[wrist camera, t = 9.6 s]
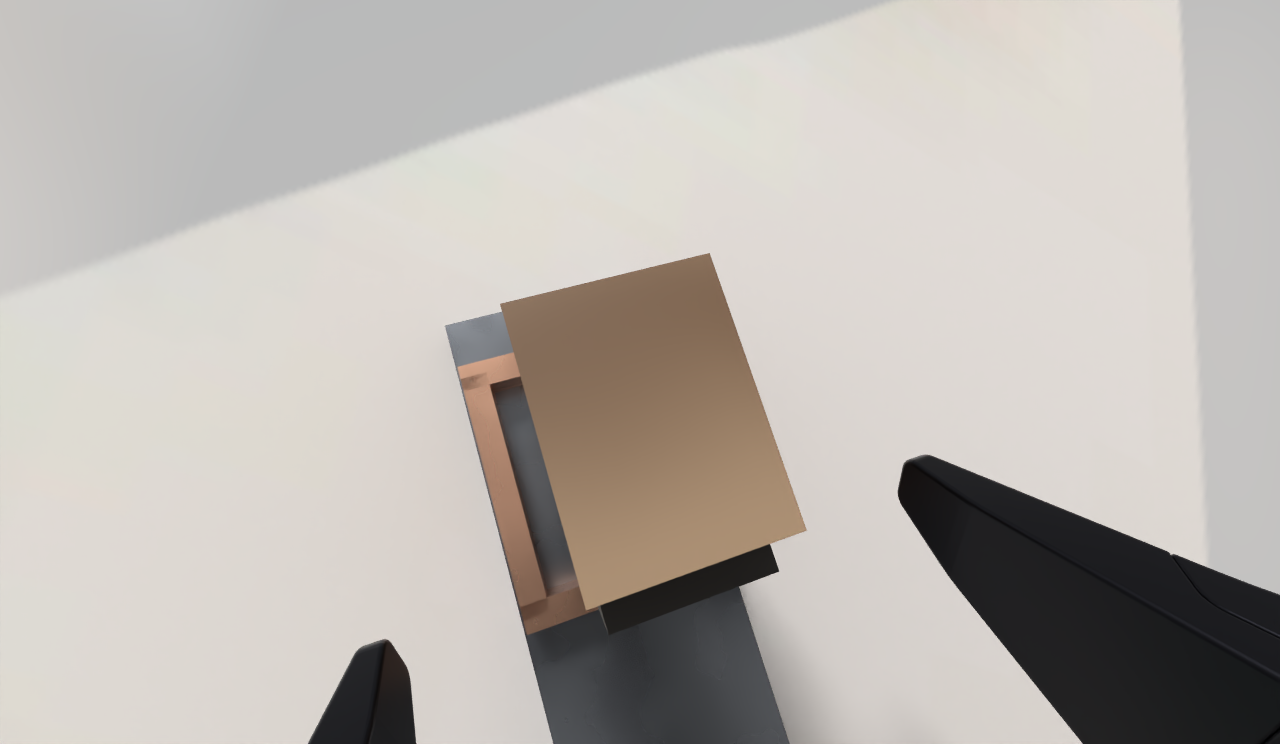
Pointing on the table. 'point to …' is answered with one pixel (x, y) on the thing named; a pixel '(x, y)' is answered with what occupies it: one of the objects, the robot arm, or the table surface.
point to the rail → (577, 638)
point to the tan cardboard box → (652, 439)
